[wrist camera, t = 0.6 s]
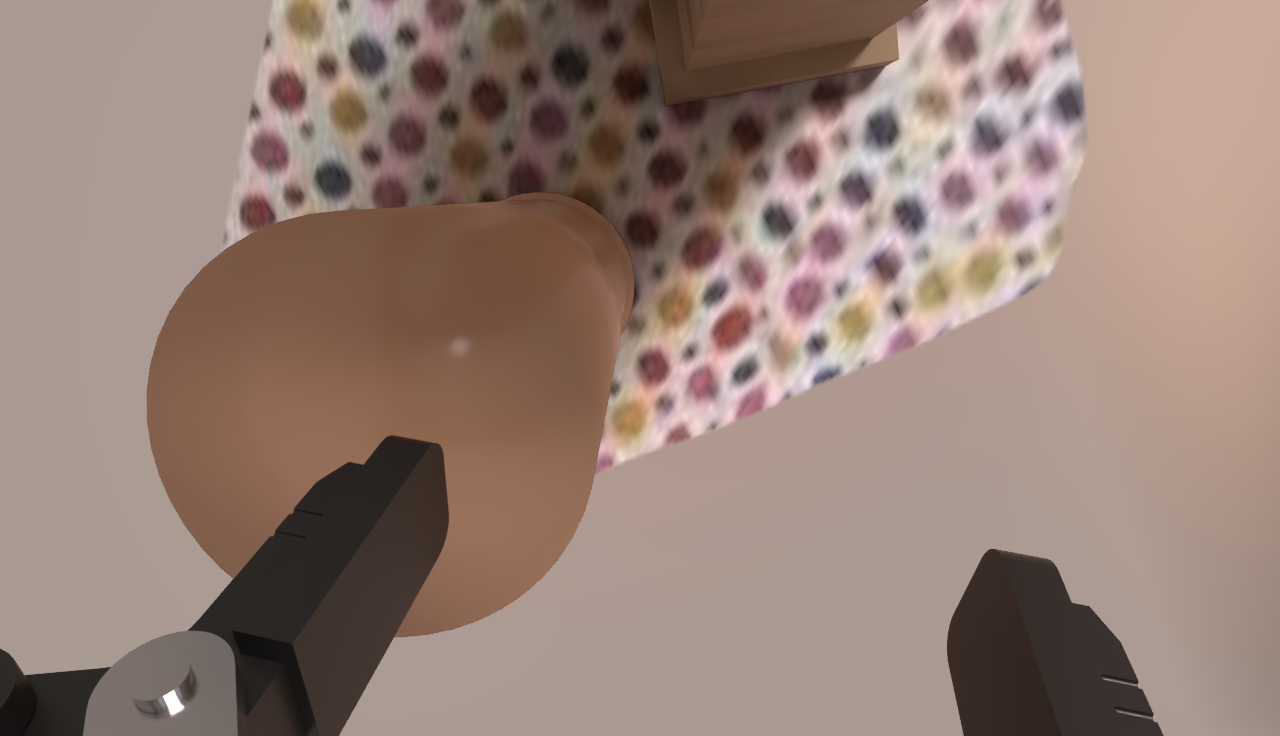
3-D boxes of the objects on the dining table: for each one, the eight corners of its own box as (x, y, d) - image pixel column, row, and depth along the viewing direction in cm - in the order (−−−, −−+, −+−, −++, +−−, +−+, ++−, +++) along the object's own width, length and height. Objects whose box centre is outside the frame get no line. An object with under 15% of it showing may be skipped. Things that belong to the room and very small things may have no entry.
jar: (437, 209, 33) (56, 240, 12) (617, 177, 33) (561, 149, 11) (478, 383, 35) (217, 679, 14) (648, 355, 35) (650, 615, 13)
